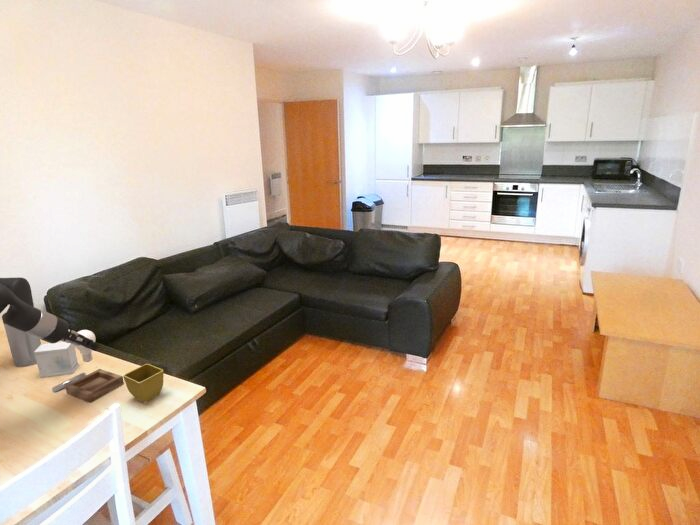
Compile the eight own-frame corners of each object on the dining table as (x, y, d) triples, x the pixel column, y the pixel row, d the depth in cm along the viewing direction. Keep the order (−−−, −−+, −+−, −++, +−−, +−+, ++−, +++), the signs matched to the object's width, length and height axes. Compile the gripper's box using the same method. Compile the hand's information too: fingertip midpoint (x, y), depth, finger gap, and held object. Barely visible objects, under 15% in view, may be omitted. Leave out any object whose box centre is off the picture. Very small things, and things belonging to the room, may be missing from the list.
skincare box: (39, 378, 148) (33, 351, 145) (47, 369, 154) (41, 343, 151) (72, 374, 150) (66, 347, 147) (79, 365, 156) (73, 339, 154)
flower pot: (168, 394, 138) (164, 369, 135) (143, 408, 130) (139, 382, 128) (151, 386, 142) (147, 363, 139) (126, 400, 135) (122, 375, 132)
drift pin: (56, 392, 139) (54, 388, 139) (52, 391, 140) (51, 386, 139) (87, 376, 149) (86, 372, 148) (84, 375, 149) (83, 371, 149)
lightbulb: (88, 367, 134) (82, 335, 131) (71, 365, 135) (65, 334, 132) (103, 357, 140) (98, 327, 137) (87, 355, 141) (81, 325, 138)
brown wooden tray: (66, 394, 138) (64, 386, 137) (101, 376, 149) (99, 368, 148) (90, 403, 133) (88, 394, 132) (123, 383, 144) (122, 376, 143)
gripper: (23, 333, 126) (70, 352, 139) (52, 342, 120) (98, 361, 133) (38, 311, 129) (83, 331, 142) (67, 318, 123) (111, 339, 136)
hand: (90, 345), depth 138 cm, fingers closed on lightbulb, 6 cm apart
